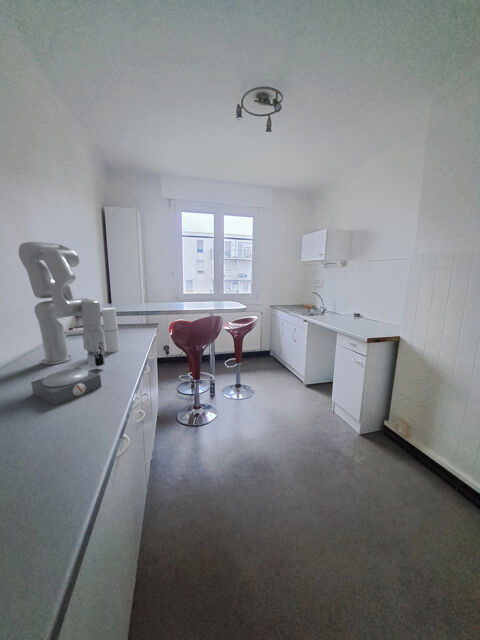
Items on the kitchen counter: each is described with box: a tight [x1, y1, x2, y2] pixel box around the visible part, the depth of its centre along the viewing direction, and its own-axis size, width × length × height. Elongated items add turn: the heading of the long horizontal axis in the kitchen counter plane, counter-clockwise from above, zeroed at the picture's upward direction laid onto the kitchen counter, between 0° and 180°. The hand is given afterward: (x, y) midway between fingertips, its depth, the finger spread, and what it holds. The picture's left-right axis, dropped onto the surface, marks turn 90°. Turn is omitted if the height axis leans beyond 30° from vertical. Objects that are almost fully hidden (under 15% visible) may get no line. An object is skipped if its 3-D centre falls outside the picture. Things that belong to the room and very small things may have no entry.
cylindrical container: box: [100, 307, 121, 353], centre depth 146 cm, size 7×7×25 cm
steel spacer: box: [86, 352, 106, 369], centre depth 119 cm, size 5×5×6 cm
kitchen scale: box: [30, 366, 102, 407], centre depth 99 cm, size 18×17×6 cm
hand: (96, 363), depth 120 cm, fingers closed on steel spacer, 5 cm apart
